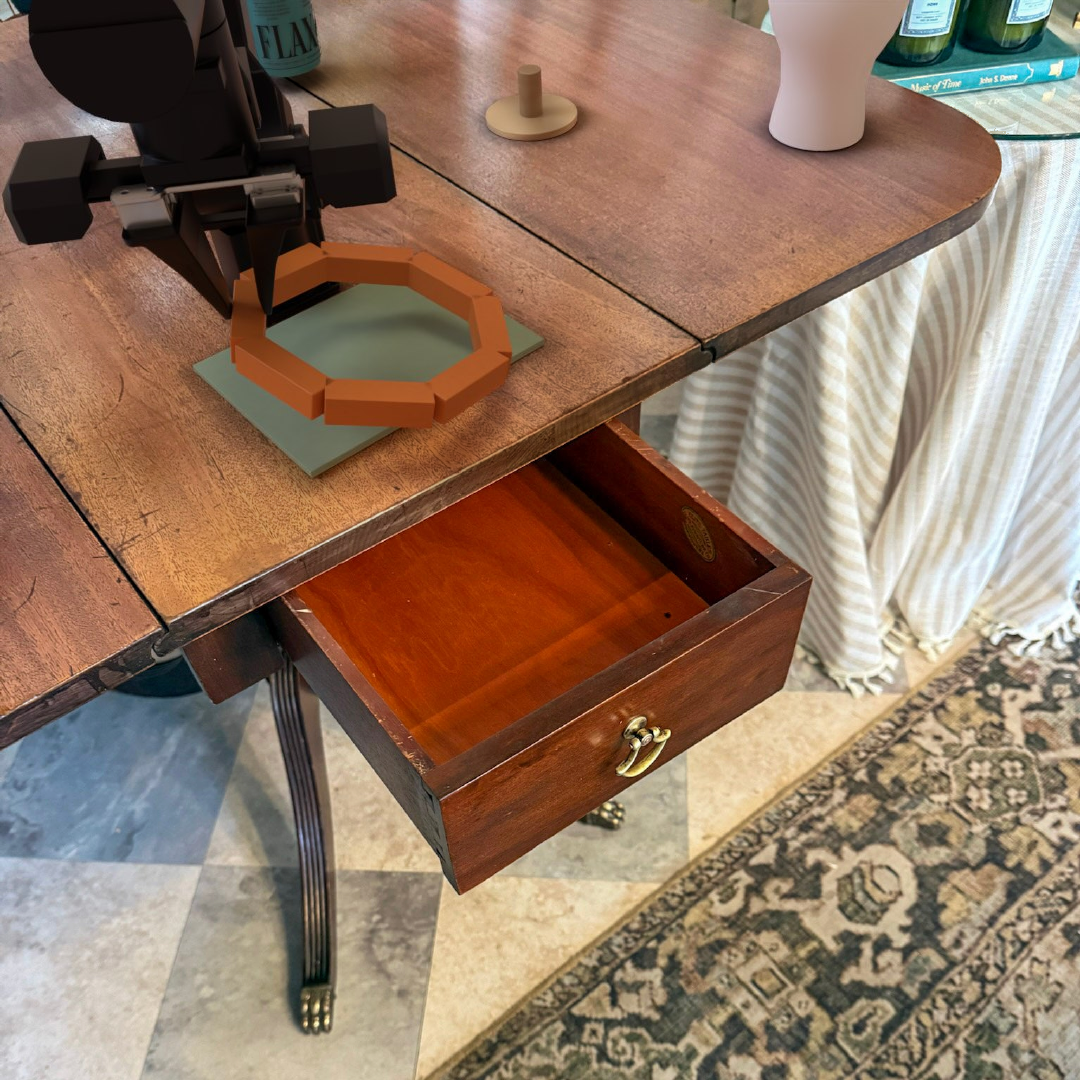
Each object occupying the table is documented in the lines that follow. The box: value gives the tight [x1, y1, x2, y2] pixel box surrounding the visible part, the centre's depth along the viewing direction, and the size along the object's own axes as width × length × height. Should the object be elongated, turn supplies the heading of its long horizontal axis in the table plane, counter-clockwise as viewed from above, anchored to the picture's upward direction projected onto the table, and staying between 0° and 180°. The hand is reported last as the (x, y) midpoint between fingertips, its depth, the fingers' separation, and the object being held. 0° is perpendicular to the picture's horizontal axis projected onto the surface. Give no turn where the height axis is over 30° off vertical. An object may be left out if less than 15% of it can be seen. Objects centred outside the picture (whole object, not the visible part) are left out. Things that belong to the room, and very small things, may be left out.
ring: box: [229, 241, 513, 429], centre depth 59 cm, size 16×16×2 cm
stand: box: [484, 64, 578, 142], centre depth 86 cm, size 8×8×4 cm
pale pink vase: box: [767, 0, 911, 152], centre depth 78 cm, size 11×11×15 cm
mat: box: [192, 283, 545, 479], centre depth 65 cm, size 18×14×1 cm
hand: (249, 312), depth 57 cm, fingers closed on ring, 2 cm apart
